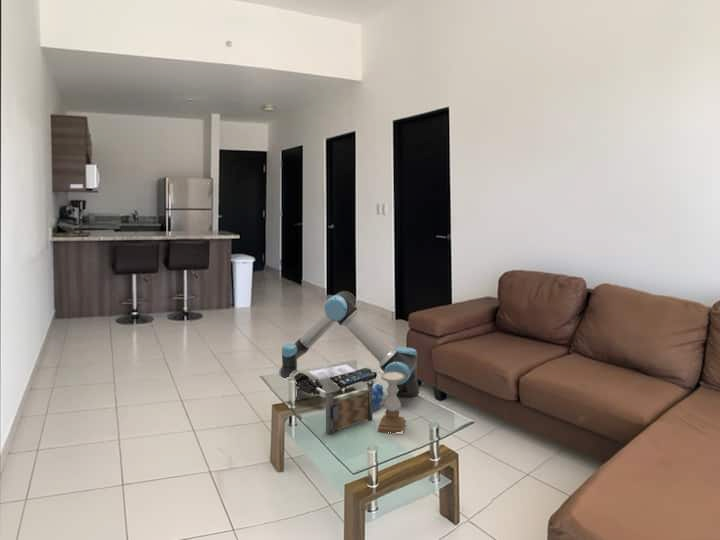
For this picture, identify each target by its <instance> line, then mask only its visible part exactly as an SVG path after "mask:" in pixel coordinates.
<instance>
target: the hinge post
mask: <svg viewBox="0 0 720 540" xmlns="http://www.w3.org/2000/svg"><path fill="white" fill-rule="evenodd" d="M374 384H375V382H374V380H367V381H366V385H367V386H366V387H367V389H369V392H368V419H367V421H370V422H371V421H373V414H374V413H373V412H374V411H373V388H374Z"/></svg>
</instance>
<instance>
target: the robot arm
mask: <svg viewBox="0 0 720 540" xmlns="http://www.w3.org/2000/svg"><path fill="white" fill-rule="evenodd" d="M356 304H357V300H356V298H355V296H354V294H353V293H351V292H349V291H347V290H346V291H345V290H344V291H339V292H337V293H336V294H334V295H332V296H331V297H329V298H328V299H327V300H326V302H325V304H324V313H323V314H322V316H320V317H319V318H318V319H317V320H316V321H315V322H314V323H313V324H312V325H311V326H310V327H309V329H307V330H306V332H304V333H303V335H302V336H300V337H299V338H298V339H297V341H296V342H294V343H286V344H283V345H282V347H281V360H282V361H281V362H282V365H281V367H280V368H279V371H278V374H279V377H280V376H281V377H283V378H287V377H292V378H295V379H296V382H297V384H296V387H295V390H296V389H297V390H296V391H300V392H303V393H306V394H308V395H309V394H310V395H312V394H313V396H316V395H318V396H320V397H322V398H325V399H326V395H327V391H325V390H324V389H323V387H324V386H323V385H322V383H321V382H320V381H319V379H318V378H316V379H315V380H313V379H311V378H309V376H308V375H307V374H305V373H304V372H302V371H300V370H298V359H299V358H301V357H302V356H303V355H305V354H306V353H307V352H308V351H309V349H311V348H312V346H314V344H316V343H317V342H318V341H319V340H320V339H321V338H322V337H323V336H324V335H325V334H326V333H327V332H328V331H329V330H330V329H331V328H332V327H333V325H335V324H336V323H337V324H338V325H340V327H345V328H347V330H348V331H349V332H351V334H353V336H355V338H356V339H357V340H358V342H360V343H361V344H362V346H364V348H366V350H367V351H368V352H369V353H370V354H371V355H372V356H373V357H374V358H375V359H376V360H377V361H378V363H379V368H380V369H381V370H382V371H383V373H385V372H399V373H402V374H404V376H405V378H404V380H402V381H399V382H398V383H397V388H398V389H399V391H398V392H397V394H396V395H397V398H398V397H399V398H411V397H412V398H413V396H414V397H416V395H417V396H418V395H419V394H420V386H419V383H418V379H417V364H418V362H417V361H418V352H417V350H416V349H415V348H413V347H404V346H403V347H396V348H394V349H392V348H391V347H390V346H389V345H388V344H387V343H386V342H385V341H384V340H383V339H382V338H381V336H379V334H378V333H377V332H376V331H375V330H374V329H373V328H372V326H370V325H369V323H367V321H366V320H364V318H363V317H361V315H360V314H359V309H358V308H357V307H356ZM281 377H280V378H281Z"/></svg>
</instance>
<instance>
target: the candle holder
mask: <svg viewBox="0 0 720 540" xmlns="http://www.w3.org/2000/svg"><path fill="white" fill-rule="evenodd" d="M380 378H381V380H383V381H385V382H387V384H388V387H387V388H386V391H387V393H388V396H387V398H386V399H385V401H384V403H383V407H384V409H386V410H385V412H384V414H385V415H383V416H382V417H381V419H380V422H379V424H378V426H377V432H378V433H383V434H392V433H396V432H401V431H403V430H404V431H405V429H404V426H405V427H406V425H405V423H406V424H407V421H406V419H405V417H404V416H400V411H399V410H400V409H401V407H402V404H401V401H400V399H399V398H398V396H397V395H396V394H397V392H398V391H399V389H398V388H397V383H398V382H399V381H402V380H404V378H405V376H404V374H402V373H399V372H385V373H384V372H383V373H382V374H381V375H380ZM388 432H389V433H388ZM390 432H391V433H390Z"/></svg>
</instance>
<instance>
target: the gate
mask: <svg viewBox="0 0 720 540" xmlns="http://www.w3.org/2000/svg"><path fill="white" fill-rule="evenodd" d="M368 392H369V389H367V388H366V387H364V388H360V389H356V390H352V391H350V392H345V393H343V394H340V395H336V396H335V395H334V406H339V420H337V421H334V432H335V431H338V430H339V429H342V428H344V427H347V426H351V425H353V424H357V423H360V422H363V421H366V420H367V419H368ZM367 421H368V420H367Z"/></svg>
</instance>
